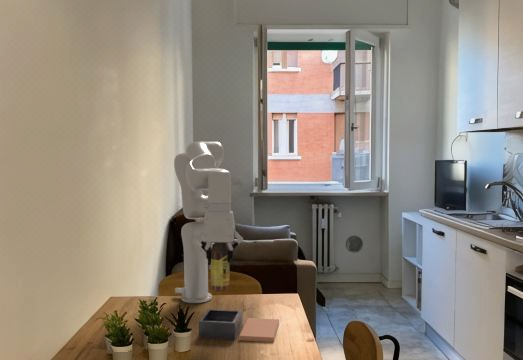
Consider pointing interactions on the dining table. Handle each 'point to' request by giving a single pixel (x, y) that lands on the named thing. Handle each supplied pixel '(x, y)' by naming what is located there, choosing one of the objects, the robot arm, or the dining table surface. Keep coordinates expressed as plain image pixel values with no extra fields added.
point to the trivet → (260, 330)
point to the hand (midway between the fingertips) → (220, 260)
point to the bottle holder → (220, 324)
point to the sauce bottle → (219, 267)
